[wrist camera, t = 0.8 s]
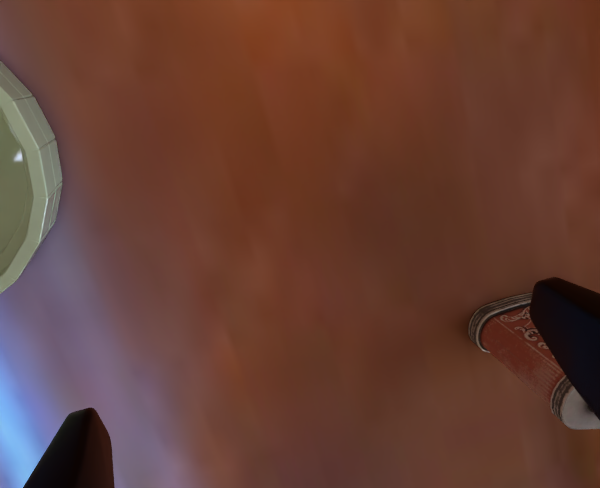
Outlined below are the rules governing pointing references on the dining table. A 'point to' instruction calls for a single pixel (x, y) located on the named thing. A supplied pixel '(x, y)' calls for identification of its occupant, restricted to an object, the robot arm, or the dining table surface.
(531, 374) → the lighter
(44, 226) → the dish
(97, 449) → the robot arm
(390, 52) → the dining table surface
